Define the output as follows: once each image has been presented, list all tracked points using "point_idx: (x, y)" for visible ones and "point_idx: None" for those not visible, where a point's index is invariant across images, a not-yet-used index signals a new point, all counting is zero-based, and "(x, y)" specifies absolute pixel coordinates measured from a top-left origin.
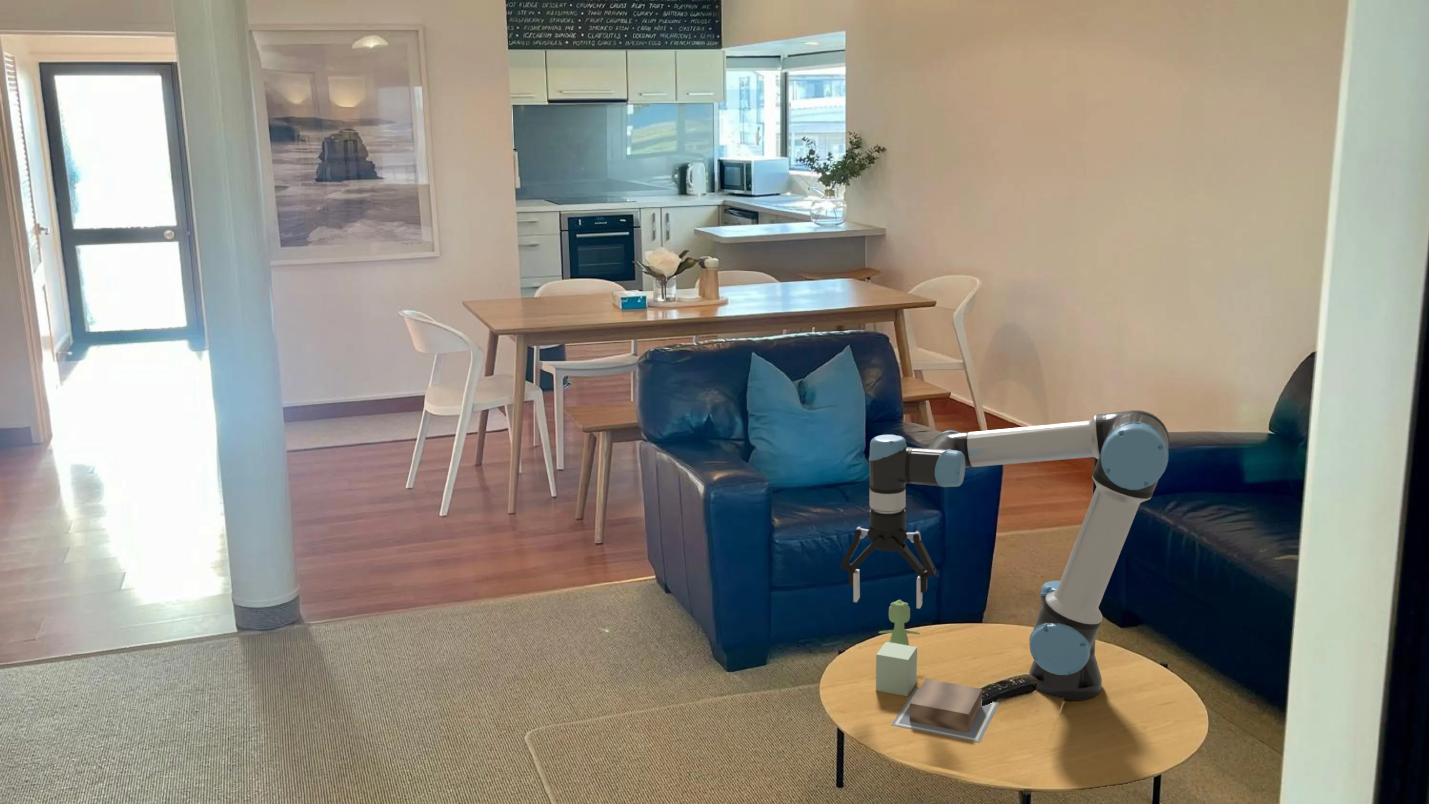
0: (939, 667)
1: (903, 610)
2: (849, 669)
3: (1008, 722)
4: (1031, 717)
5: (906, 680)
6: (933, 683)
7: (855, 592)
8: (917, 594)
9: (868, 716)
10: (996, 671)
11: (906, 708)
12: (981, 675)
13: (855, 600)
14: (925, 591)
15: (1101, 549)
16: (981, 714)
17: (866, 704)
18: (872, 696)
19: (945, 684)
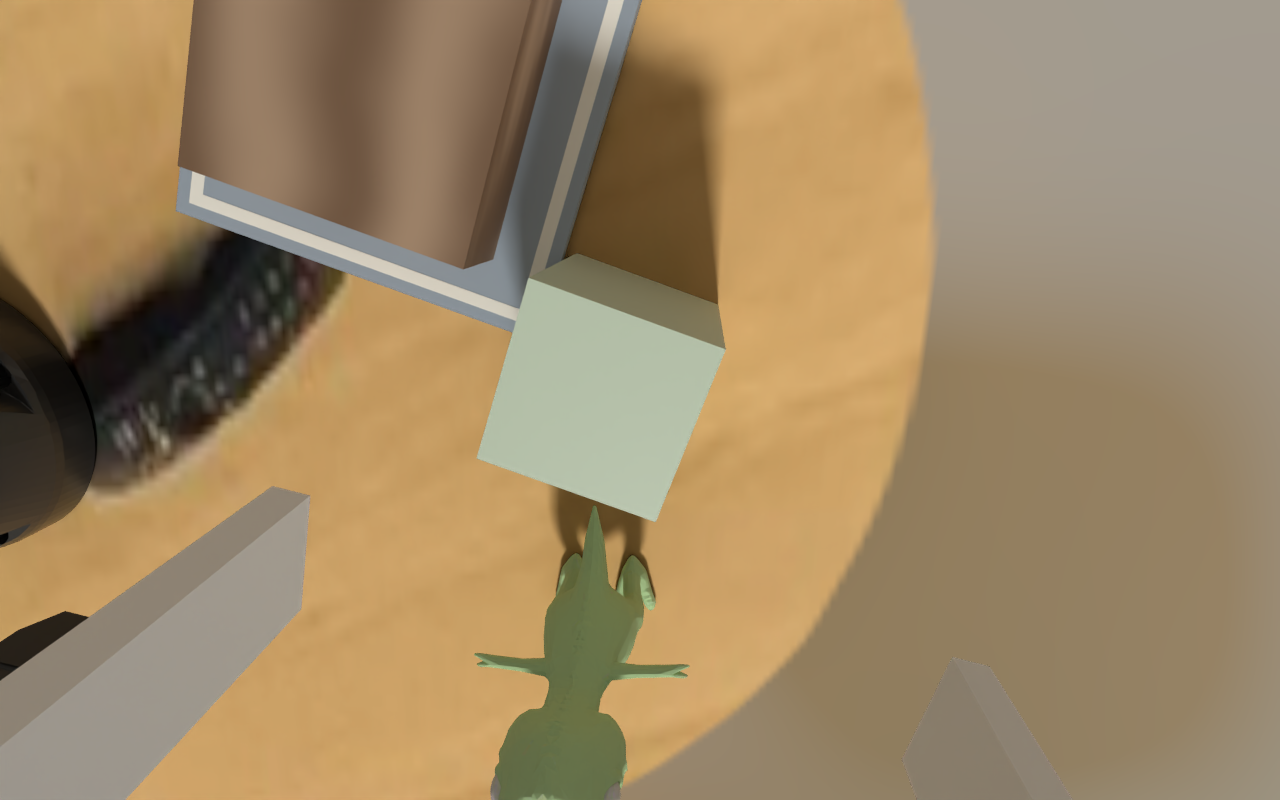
0: (442, 541)
1: (527, 760)
2: (819, 519)
3: (130, 41)
4: (44, 102)
5: (564, 263)
6: (422, 212)
7: (1021, 755)
8: (180, 587)
9: (771, 46)
10: (224, 511)
11: (581, 119)
12: (277, 478)
13: (975, 674)
14: (44, 624)
15: None
16: None
17: (771, 180)
18: (736, 266)
19: (362, 206)
